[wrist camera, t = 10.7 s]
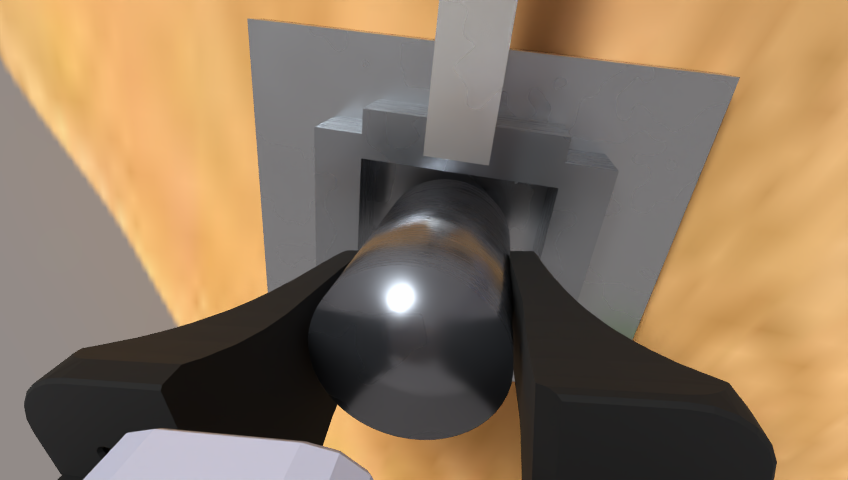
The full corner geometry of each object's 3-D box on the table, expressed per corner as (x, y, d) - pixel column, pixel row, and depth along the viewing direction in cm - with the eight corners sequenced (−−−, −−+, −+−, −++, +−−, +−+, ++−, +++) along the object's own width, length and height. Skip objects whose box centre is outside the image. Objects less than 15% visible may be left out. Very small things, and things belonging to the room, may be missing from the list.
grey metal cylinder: (505, 173, 13) (506, 261, 7) (513, 293, 14) (519, 443, 9) (374, 185, 13) (285, 273, 8) (395, 297, 15) (332, 436, 9)
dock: (723, 73, 12) (777, 85, 10) (602, 381, 18) (618, 438, 15) (264, 19, 14) (211, 16, 11) (281, 319, 19) (248, 362, 17)
